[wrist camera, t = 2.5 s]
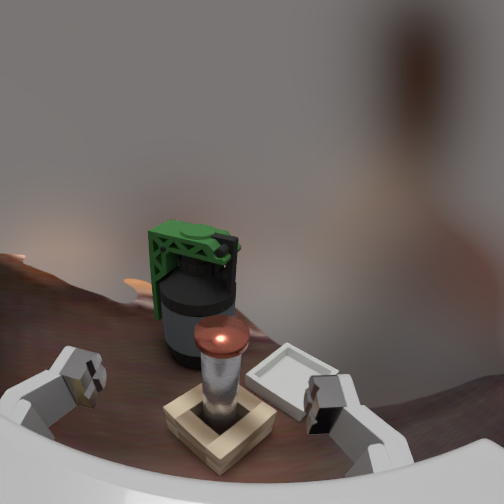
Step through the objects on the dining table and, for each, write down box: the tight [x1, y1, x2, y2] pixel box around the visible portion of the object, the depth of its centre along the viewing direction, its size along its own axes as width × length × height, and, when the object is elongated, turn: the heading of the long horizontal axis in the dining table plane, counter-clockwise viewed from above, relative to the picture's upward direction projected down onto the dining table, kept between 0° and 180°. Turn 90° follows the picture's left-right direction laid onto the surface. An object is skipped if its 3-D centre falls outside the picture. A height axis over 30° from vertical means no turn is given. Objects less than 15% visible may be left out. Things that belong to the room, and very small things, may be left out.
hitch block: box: [163, 383, 277, 475], centre depth 30 cm, size 9×9×5 cm
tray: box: [244, 343, 339, 422], centre depth 38 cm, size 10×10×2 cm
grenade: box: [148, 220, 241, 369], centre depth 41 cm, size 11×13×20 cm
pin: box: [194, 315, 250, 436], centre depth 27 cm, size 5×5×17 cm
